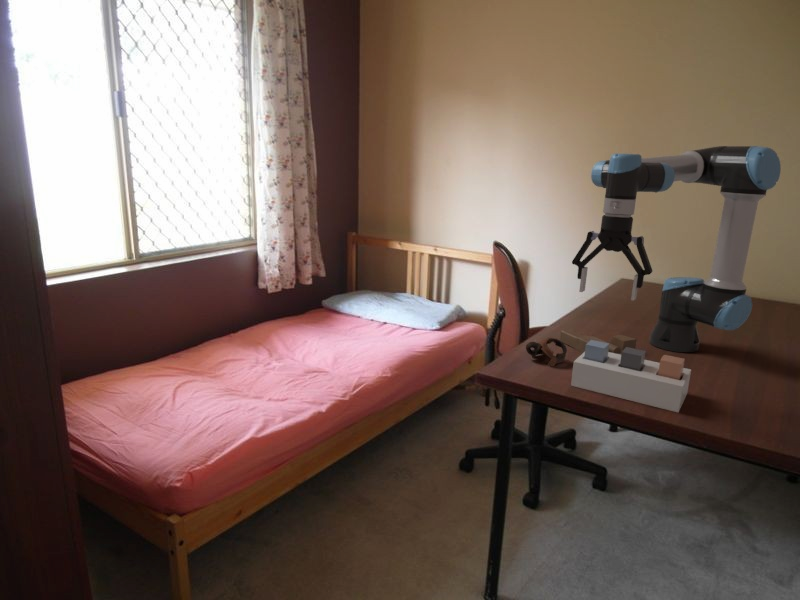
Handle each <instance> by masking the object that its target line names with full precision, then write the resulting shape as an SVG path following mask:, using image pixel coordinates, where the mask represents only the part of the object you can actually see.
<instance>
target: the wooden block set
mask: <svg viewBox="0 0 800 600" xmlns="http://www.w3.org/2000/svg"><path fill="white" fill-rule="evenodd" d="M559 337H560V338H559V341H561V342H562V343H563V344H564V345H565V346H568V345H569V347H570V348H573V349H575V351H578V352H580V353H582V354H583V353H584V352H585V348H586V344H587V343H588V342H589V341H590V340H595V341H600V342H604V343H609V351H608V352H611V353H616V354H620V355H621V354H622V351H623V350H624V349H625V348H626V347H629V348H634V349H637V348H636V347H637V338H634V337H630V336H627V335H623V334H617V335H612V340H611V343H610V342H608V341H606V340H603V339H602V338H601V339H600V338H598V337H597V336H594V335H590V336H588V335H586V334H585V335H584V334H582V333H579V332H578V331H575V330H570V329H563V330H562V329H561V331H560V336H559Z"/></svg>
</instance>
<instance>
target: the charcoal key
mask: <svg viewBox="0 0 800 600" xmlns="http://www.w3.org/2000/svg"><path fill="white" fill-rule="evenodd" d="M646 352H647V351H646V350H643V349H637V348H635V349H634V348H629V347H626V348H625V349H624V350H623V351H622V354H621V353H620V355H621V362H620V367H623V368H628V369H632V370H637V371H642V369H643V367H644V360H646Z"/></svg>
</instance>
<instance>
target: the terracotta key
mask: <svg viewBox="0 0 800 600" xmlns="http://www.w3.org/2000/svg"><path fill="white" fill-rule="evenodd" d="M685 360H686V359H685V358H681V357H678V356H673V355H668V354H663V355H662V356H661V358H660V360H659V363H660V365H659V371H658V375H659V376H663V377H668V378H672V379H677V380H680V379H681V377H682V372H683V368H684V366H685Z"/></svg>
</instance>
